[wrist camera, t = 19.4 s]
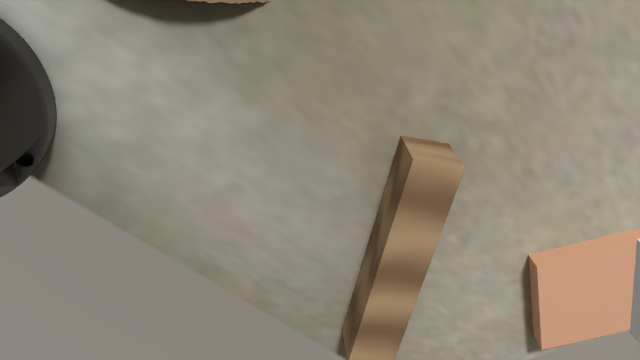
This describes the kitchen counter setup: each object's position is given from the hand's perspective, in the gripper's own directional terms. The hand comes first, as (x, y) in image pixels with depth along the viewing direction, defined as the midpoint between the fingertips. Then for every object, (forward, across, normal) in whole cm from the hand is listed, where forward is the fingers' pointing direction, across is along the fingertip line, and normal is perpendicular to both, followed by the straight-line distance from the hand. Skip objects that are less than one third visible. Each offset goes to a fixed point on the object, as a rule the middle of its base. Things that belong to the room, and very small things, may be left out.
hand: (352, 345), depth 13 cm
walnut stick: (+32, +4, -20) cm, 38 cm away
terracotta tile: (+31, +21, -24) cm, 45 cm away
